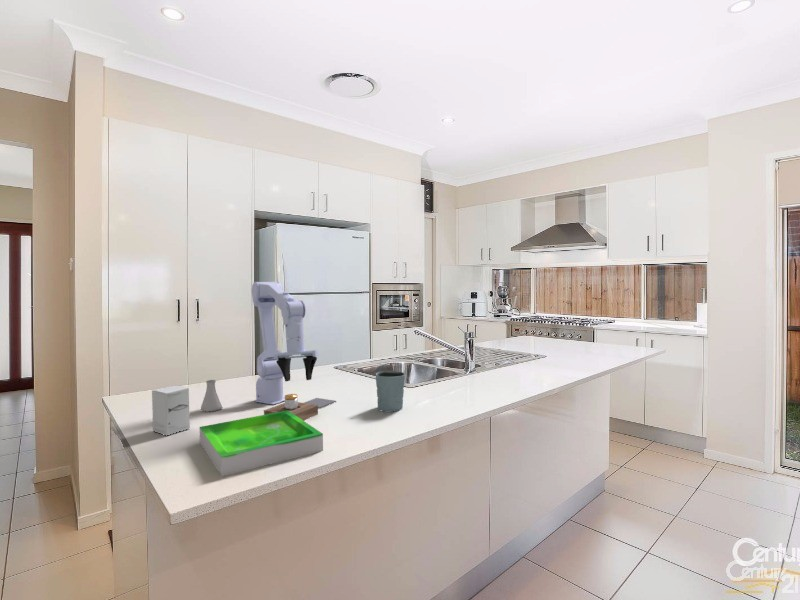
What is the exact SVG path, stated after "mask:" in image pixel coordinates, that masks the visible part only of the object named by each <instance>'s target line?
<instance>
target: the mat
mask: <svg viewBox="0 0 800 600" xmlns="http://www.w3.org/2000/svg"><path fill="white" fill-rule="evenodd" d="M334 402H335V403H337V400H333V399H328V398H327V399H326V398H320V397H315V398H312V399H309V400H307V401H305V402H303V403H307V404H313V405H318V409H322V408H325V407H327V406H329V404H330V405H332V404H334Z"/></svg>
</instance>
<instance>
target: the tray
mask: <svg viewBox="0 0 800 600" xmlns="http://www.w3.org/2000/svg"><path fill="white" fill-rule="evenodd" d="M198 429H199V444H200V443H201V444H200V445H201V447H202V448H204V449H203V451H204V452H205V451H206V454H207V456H208V458H209V459H210V461H211V462H212V464H213V466H214V467H215V468H216V470H217V471H218V473H219V475H220V476H221V477H224V476H229V475H232V474H236V473H242V472H244V471H248V470H252V469H257V468H260V466H261V467H264V465H265V466H269V465H272V464H271V463H273V464H276V463H280V462H284V461H287V460H291V459H295V458H300V457H304V456H308V455H312V454H316V453H318V452H319V451H320V452H322V451H323V452H324V435H323V434H324V433H322V432H321V431H319V430H318V429H316V428H315V427H314V426H312V425H310V424H309V423H308V422H306V420H304V421H303V420H302V419H300V418H298V417H297V416H295V415H294V414H292V413H291V412H289V411H288V410H287V411H282V412H277V413H271V414H266V415H264V414H262V415H256V416H251V417H245V418H239V419H235V420H228V421H225V422H218V423H214V424H209V425H202V426H199V428H198ZM279 461H280V462H279ZM275 462H276V463H275ZM268 464H269V465H268Z"/></svg>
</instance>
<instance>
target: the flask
mask: <svg viewBox="0 0 800 600" xmlns="http://www.w3.org/2000/svg"><path fill="white" fill-rule="evenodd" d="M216 382H217V381H216V379H208V380H205V383H206V389H205V394H204V397H203V400H202V403H201V405H200V408H201V409H200V411H201V410H202V411H201V412H205V411H206V412H205V413H209V411H210V412H215V411H219V410H222V409H223V408H224V406H223V405H222V403H221V401H220V398H219V396H218V393H217V390H216V389H217V388H216Z"/></svg>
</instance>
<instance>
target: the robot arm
mask: <svg viewBox="0 0 800 600" xmlns="http://www.w3.org/2000/svg"><path fill="white" fill-rule="evenodd" d="M251 298H252V303H253V305H254V307H257V309H258V310H257V311H258V315H259V322H260V329H261V339H262V346H263V351H262V353H260V354H259V355H258V356H257V358H256V371H257V375H258V376H259V377H258V378H257V380H256V383H255V392H256V396H255V397H256V399H254V402H256V403H261V404H268V405H276V404H279V403H282V402H285V396H284V382H289V381H291V362H292V359H298V358H302V361H303V364H304V369H305V379H306V381H311V380H312V376H313V371H314V367H315V365H316V361H318V360H317V359H318V357H319V350H317V349H314V350H306V343H305V342H306V341H305V328H304V318H305V316H306V305H305V303H304V301H303V300H296V299H295V298H294V297H293V296H292V295H291V294H290V293H289V291H283V285H282V283H281V282H280V281H279V280H278V281H254V282H253V284H252V285H251ZM275 306H277V308H278V309H279V310H280V313H281V317H282V321H283V325H284V326H285V327H284V328H285V340H286V341H285V342H286V352H282V351H281V350H279V348H278V344H277V343H278V342H277V336H276V328H275V323H274V322H275V320H274V314H273V307H275Z"/></svg>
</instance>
